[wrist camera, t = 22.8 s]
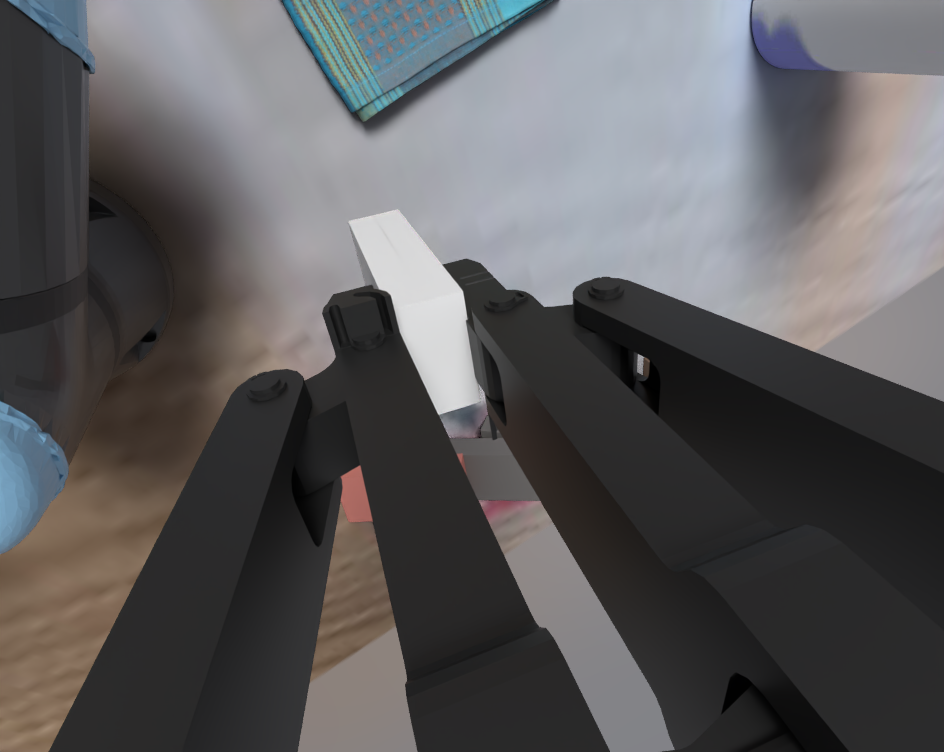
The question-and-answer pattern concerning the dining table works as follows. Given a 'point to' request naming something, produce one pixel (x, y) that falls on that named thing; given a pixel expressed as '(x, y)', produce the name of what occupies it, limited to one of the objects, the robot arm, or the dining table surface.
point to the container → (851, 35)
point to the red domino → (361, 495)
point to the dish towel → (397, 41)
